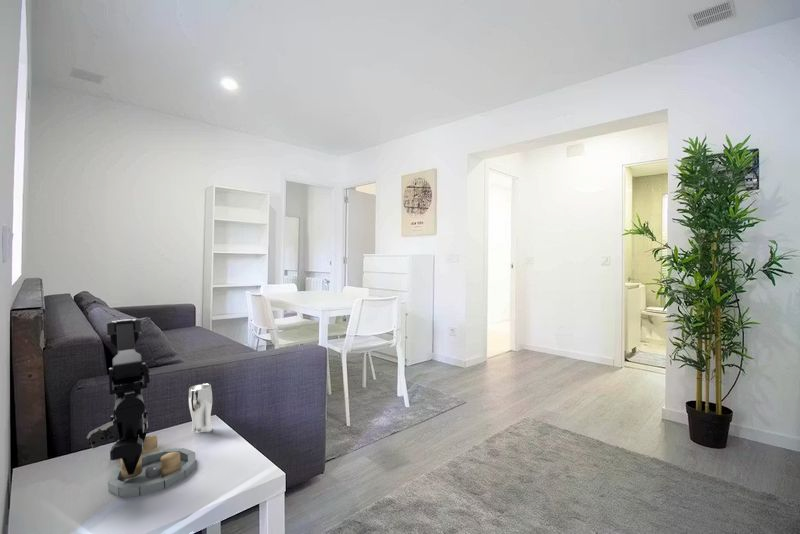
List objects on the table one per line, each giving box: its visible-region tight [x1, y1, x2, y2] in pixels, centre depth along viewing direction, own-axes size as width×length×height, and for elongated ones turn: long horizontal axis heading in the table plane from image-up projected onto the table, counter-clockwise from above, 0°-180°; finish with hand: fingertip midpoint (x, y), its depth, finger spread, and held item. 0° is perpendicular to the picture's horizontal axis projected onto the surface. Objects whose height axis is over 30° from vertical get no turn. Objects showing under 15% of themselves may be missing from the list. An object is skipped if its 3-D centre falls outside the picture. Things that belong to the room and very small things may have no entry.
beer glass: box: [188, 383, 213, 434], centre depth 127 cm, size 7×7×15 cm
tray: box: [107, 447, 197, 497], centre depth 101 cm, size 19×19×3 cm
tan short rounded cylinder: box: [161, 452, 181, 478], centre depth 100 cm, size 4×4×5 cm
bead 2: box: [141, 435, 159, 455], centre depth 112 cm, size 4×4×5 cm
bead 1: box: [120, 454, 142, 479], centre depth 98 cm, size 4×4×5 cm
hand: (132, 469), depth 98 cm, fingers closed on bead 1, 4 cm apart
